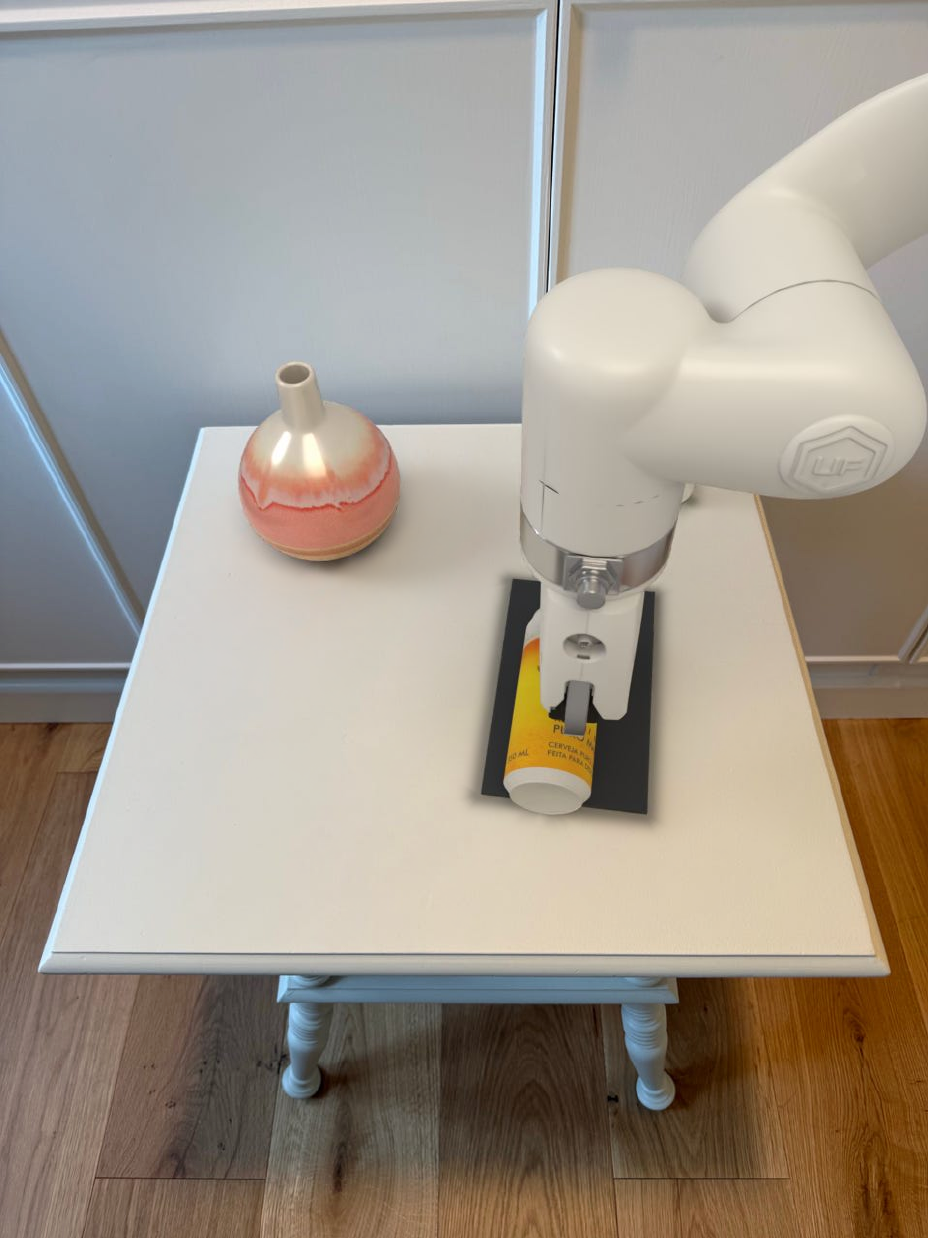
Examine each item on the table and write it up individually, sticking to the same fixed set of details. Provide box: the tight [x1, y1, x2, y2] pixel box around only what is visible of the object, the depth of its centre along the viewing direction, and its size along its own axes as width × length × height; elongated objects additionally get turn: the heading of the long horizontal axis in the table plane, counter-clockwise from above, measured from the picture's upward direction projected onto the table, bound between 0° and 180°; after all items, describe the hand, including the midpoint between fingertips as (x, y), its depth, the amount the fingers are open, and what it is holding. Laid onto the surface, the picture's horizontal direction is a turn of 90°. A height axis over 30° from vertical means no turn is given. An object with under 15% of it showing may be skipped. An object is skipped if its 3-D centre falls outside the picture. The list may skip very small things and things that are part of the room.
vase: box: [237, 360, 402, 562], centre depth 76 cm, size 14×14×18 cm
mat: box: [480, 578, 656, 815], centre depth 72 cm, size 12×20×1 cm, turn 172°
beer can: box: [504, 609, 597, 815], centre depth 68 cm, size 6×6×15 cm
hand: (573, 710), depth 60 cm, fingers closed
